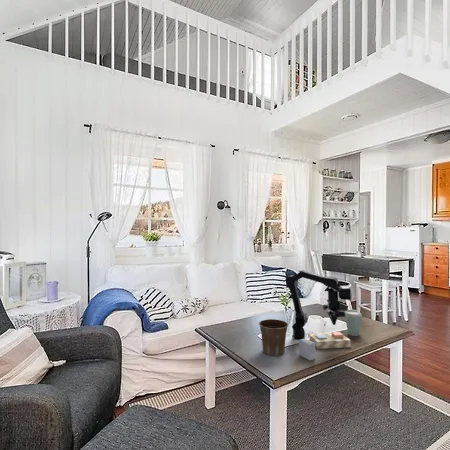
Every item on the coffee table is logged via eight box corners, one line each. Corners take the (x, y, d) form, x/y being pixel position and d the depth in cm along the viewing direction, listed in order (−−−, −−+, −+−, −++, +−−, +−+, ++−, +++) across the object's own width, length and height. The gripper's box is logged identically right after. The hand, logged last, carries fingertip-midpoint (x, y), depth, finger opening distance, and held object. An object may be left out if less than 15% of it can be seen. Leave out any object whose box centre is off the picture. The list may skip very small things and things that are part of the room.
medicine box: (315, 358, 163) (315, 342, 163) (309, 360, 161) (309, 344, 161) (304, 353, 170) (304, 338, 170) (298, 355, 167) (298, 339, 167)
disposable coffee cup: (365, 336, 195) (365, 312, 195) (352, 338, 192) (351, 314, 192) (354, 330, 205) (353, 308, 205) (340, 332, 202) (340, 310, 202)
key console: (317, 348, 176) (317, 341, 176) (309, 341, 188) (309, 334, 188) (350, 346, 178) (350, 340, 178) (340, 339, 190) (340, 332, 190)
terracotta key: (335, 340, 181) (335, 335, 181) (331, 337, 186) (331, 332, 186) (343, 339, 181) (343, 334, 181) (339, 336, 186) (339, 331, 186)
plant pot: (294, 355, 168) (293, 326, 168) (268, 360, 162) (267, 329, 162) (278, 344, 183) (278, 317, 183) (254, 348, 177) (254, 321, 177)
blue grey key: (319, 343, 180) (319, 337, 180) (315, 339, 185) (315, 334, 185) (327, 342, 180) (327, 337, 180) (323, 339, 185) (323, 334, 185)
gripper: (353, 301, 175) (354, 329, 174) (339, 294, 193) (339, 319, 193) (335, 302, 174) (336, 330, 173) (322, 295, 192) (322, 320, 192)
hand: (334, 324), depth 183 cm, fingers closed
